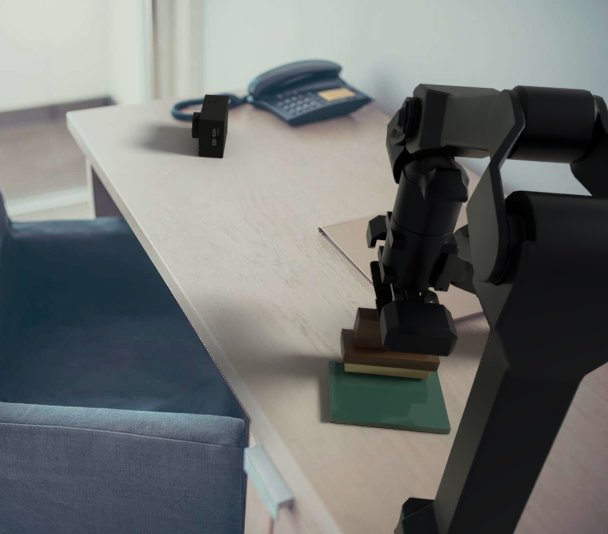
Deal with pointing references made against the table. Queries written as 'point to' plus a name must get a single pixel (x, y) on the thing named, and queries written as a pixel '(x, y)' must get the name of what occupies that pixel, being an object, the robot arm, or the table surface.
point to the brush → (380, 351)
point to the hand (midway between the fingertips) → (389, 339)
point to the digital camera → (211, 126)
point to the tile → (386, 400)
